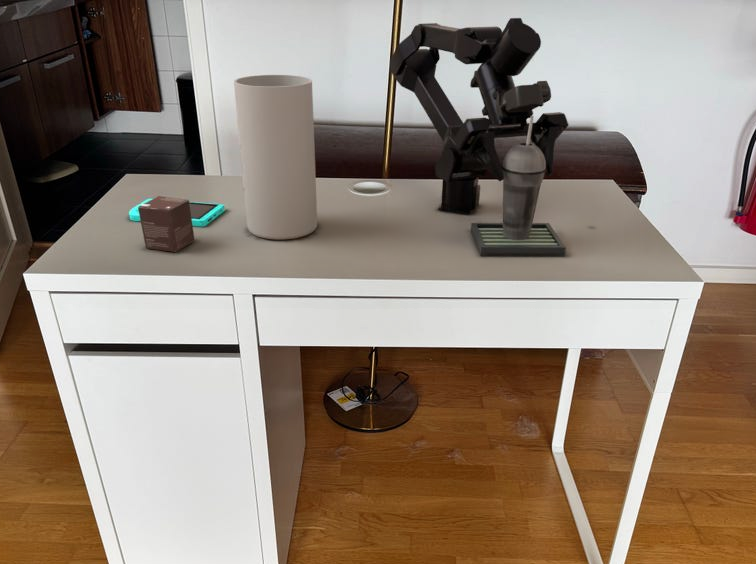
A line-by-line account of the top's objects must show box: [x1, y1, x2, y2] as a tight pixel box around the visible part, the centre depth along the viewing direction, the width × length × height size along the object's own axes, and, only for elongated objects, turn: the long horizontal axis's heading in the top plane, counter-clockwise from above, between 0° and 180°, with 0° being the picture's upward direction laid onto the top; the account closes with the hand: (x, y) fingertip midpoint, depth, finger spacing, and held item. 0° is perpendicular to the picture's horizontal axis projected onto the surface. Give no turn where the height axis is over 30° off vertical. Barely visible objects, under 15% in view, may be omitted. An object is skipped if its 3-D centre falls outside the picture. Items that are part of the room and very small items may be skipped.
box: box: [138, 195, 196, 253], centre depth 114 cm, size 6×6×7 cm
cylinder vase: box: [233, 74, 318, 241], centre depth 117 cm, size 12×12×25 cm
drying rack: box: [470, 222, 567, 257], centre depth 118 cm, size 14×12×2 cm
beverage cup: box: [501, 115, 546, 240], centre depth 113 cm, size 7×7×20 cm
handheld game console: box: [128, 198, 226, 228], centre depth 129 cm, size 10×16×1 cm, turn 78°
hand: (526, 177), depth 112 cm, fingers open, 9 cm apart
